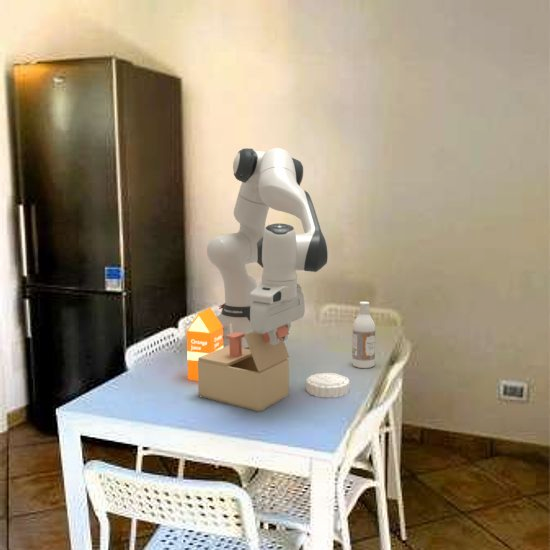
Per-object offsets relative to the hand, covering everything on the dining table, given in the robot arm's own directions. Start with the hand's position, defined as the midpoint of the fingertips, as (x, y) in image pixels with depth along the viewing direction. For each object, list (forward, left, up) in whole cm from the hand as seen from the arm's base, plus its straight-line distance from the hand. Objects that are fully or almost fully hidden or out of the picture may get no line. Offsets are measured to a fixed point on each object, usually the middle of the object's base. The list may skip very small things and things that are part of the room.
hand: (278, 342), depth 157 cm
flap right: (-4, 0, -2) cm, 4 cm away
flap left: (-16, 0, -7) cm, 18 cm away
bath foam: (+5, +41, -17) cm, 45 cm away
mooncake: (+6, +16, -17) cm, 24 cm away
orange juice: (-30, +7, -17) cm, 35 cm away
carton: (-11, 0, -17) cm, 20 cm away
